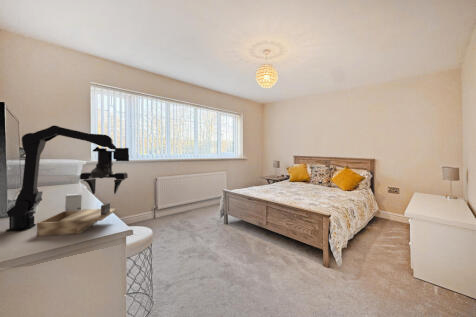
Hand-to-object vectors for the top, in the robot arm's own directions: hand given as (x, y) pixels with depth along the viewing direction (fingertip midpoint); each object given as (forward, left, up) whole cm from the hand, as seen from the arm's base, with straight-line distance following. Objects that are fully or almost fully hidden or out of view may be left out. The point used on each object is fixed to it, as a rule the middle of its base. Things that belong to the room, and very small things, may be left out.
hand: (104, 193), depth 99 cm
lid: (-1, -10, -7) cm, 12 cm away
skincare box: (-14, +2, -13) cm, 19 cm away
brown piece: (-9, -10, -12) cm, 18 cm away
